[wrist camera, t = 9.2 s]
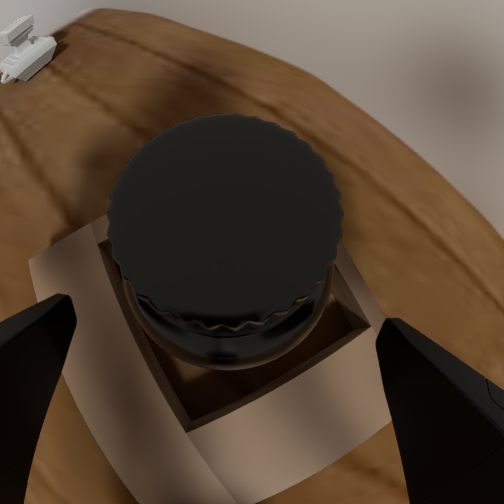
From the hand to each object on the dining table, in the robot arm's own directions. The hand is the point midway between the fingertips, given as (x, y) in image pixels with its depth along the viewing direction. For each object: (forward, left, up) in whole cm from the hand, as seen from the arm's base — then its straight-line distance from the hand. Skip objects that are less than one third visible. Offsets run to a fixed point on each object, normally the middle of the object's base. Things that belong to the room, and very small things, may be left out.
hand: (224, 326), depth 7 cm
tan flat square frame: (-1, 0, -9) cm, 9 cm away
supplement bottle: (+1, +2, -9) cm, 10 cm away
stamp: (-9, +39, -9) cm, 41 cm away
